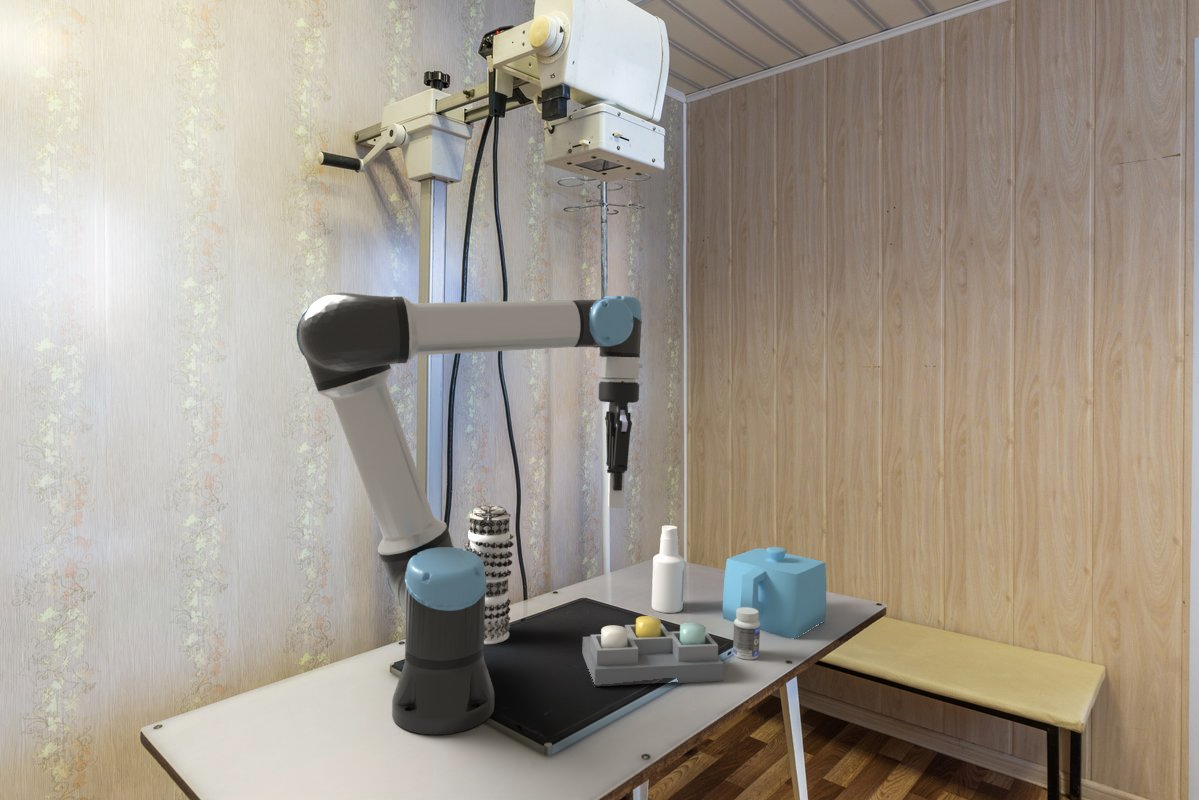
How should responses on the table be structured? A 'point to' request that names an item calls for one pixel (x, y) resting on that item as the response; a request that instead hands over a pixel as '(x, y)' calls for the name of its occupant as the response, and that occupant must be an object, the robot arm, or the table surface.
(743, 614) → the pill bottle
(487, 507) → the decorative candle
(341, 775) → the table surface
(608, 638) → the button ivory
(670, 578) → the spray bottle
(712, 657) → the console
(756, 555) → the container
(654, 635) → the button mustard
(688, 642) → the button teal
